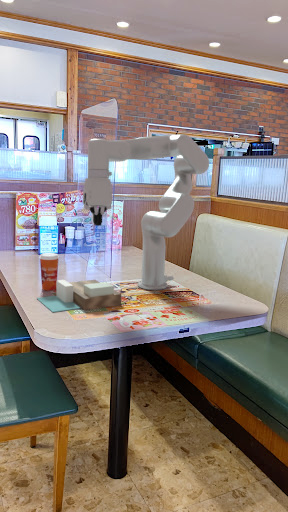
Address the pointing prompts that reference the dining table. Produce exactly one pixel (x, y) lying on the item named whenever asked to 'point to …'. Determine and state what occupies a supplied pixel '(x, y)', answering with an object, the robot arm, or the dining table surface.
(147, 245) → the robot arm
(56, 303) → the mat
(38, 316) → the dining table surface
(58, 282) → the white rectangular block
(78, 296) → the riser
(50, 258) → the paper cup
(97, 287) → the pale green block
